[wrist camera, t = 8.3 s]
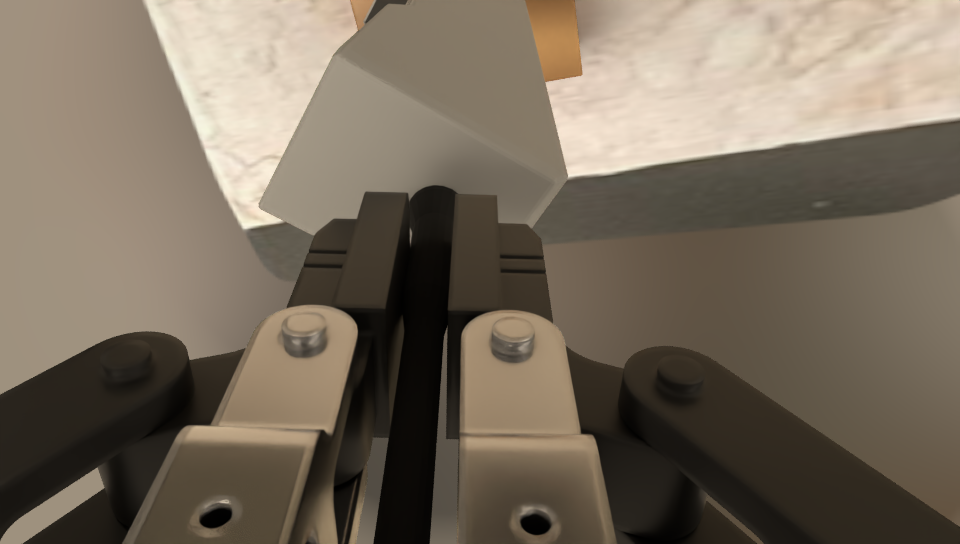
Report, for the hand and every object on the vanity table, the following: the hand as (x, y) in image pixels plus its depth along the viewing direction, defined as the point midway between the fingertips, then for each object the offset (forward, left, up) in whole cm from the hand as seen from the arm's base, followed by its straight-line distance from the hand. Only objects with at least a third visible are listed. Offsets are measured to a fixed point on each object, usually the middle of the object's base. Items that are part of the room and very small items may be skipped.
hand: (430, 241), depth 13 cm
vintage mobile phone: (0, -1, -19) cm, 19 cm away
